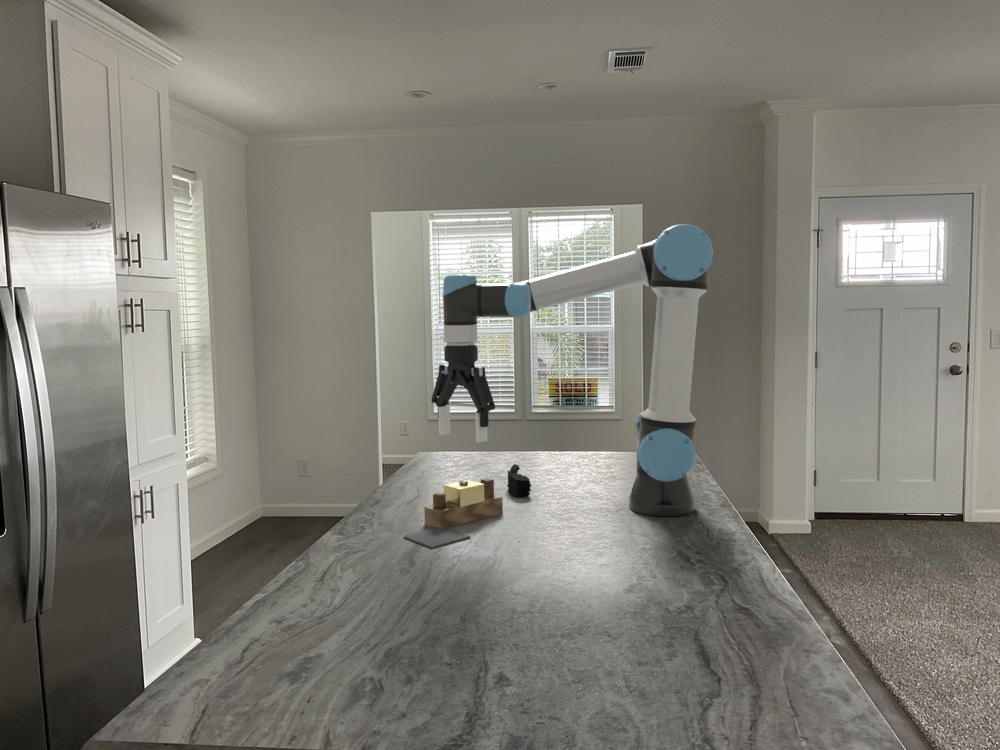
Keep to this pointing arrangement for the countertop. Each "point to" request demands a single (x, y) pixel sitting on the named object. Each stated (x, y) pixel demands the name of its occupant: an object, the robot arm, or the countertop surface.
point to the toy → (518, 483)
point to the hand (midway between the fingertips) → (462, 437)
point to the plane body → (463, 508)
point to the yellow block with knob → (464, 493)
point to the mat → (436, 537)
